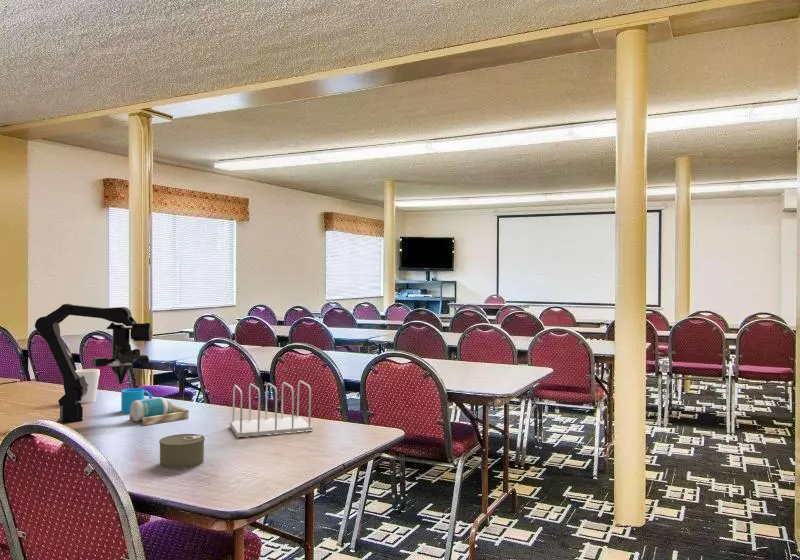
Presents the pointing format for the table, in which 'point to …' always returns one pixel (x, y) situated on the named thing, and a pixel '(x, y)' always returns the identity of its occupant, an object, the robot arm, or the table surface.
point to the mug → (131, 398)
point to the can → (181, 451)
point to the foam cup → (89, 383)
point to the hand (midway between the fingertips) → (120, 384)
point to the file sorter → (270, 424)
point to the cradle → (165, 416)
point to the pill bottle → (150, 408)
